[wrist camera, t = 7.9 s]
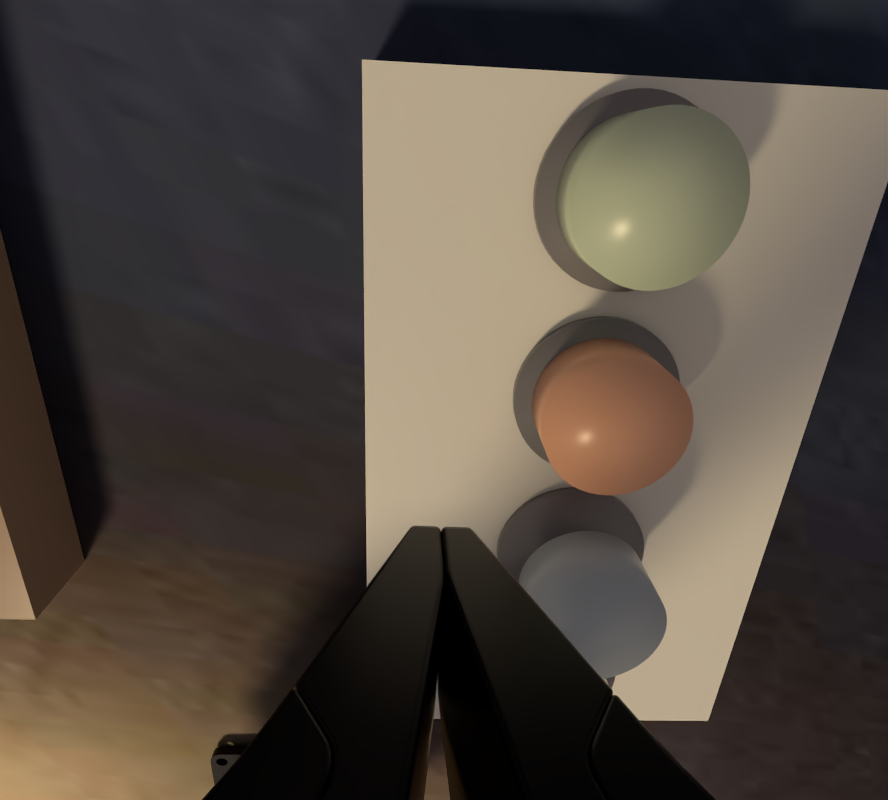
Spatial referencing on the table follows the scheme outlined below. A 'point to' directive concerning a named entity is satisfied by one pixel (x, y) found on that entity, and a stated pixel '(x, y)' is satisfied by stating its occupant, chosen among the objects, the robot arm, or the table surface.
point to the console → (599, 328)
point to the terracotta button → (611, 416)
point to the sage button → (654, 196)
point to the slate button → (597, 598)
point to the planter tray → (28, 476)
